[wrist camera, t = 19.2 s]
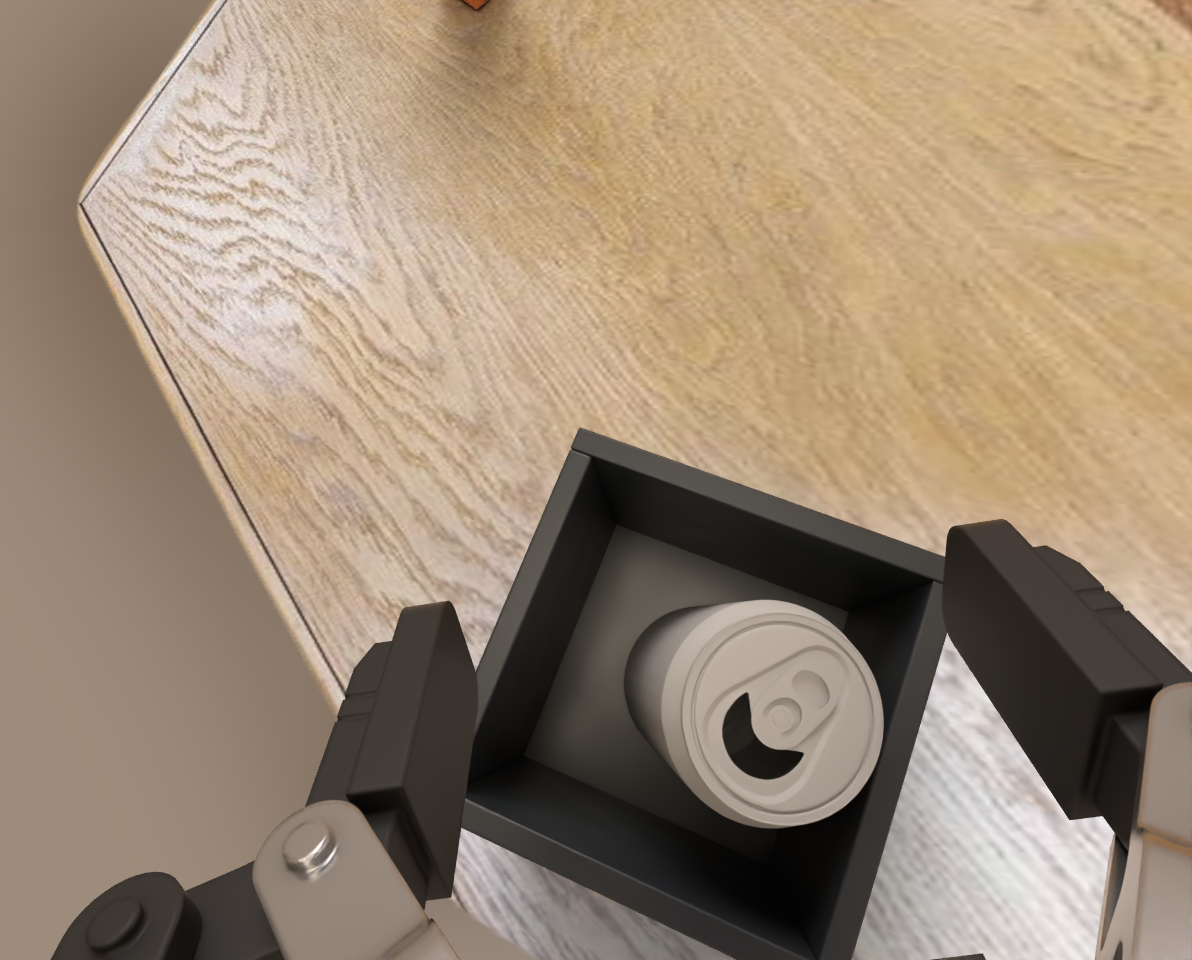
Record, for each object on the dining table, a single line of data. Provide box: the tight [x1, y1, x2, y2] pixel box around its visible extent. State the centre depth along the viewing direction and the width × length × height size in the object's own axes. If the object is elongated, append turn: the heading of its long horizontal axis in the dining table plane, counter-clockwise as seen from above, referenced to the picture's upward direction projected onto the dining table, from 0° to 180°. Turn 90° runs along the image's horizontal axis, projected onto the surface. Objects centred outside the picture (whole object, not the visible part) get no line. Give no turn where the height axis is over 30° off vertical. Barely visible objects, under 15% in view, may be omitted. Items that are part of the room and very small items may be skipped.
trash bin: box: [461, 428, 947, 960], centre depth 28 cm, size 13×13×12 cm
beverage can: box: [624, 600, 884, 828], centre depth 26 cm, size 6×6×12 cm
